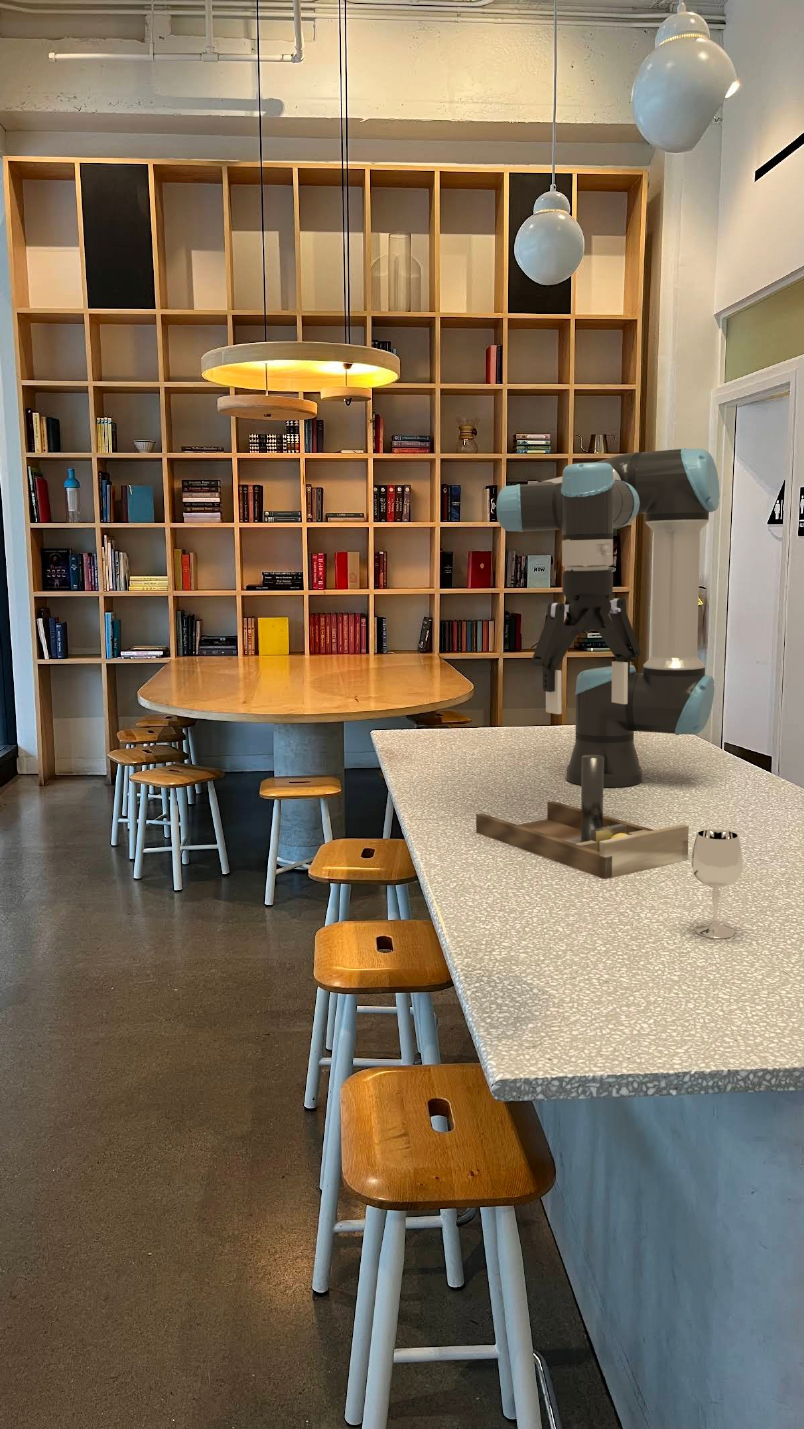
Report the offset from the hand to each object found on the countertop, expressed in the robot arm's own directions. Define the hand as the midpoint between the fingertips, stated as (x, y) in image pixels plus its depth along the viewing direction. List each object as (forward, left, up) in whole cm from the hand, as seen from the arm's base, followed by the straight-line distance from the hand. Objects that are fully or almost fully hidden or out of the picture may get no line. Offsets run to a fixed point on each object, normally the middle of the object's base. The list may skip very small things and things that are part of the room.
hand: (587, 708), depth 157 cm
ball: (+14, -4, -18) cm, 23 cm away
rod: (+6, -4, -20) cm, 22 cm away
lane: (+2, -4, -22) cm, 22 cm away
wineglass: (+37, -13, -22) cm, 45 cm away
